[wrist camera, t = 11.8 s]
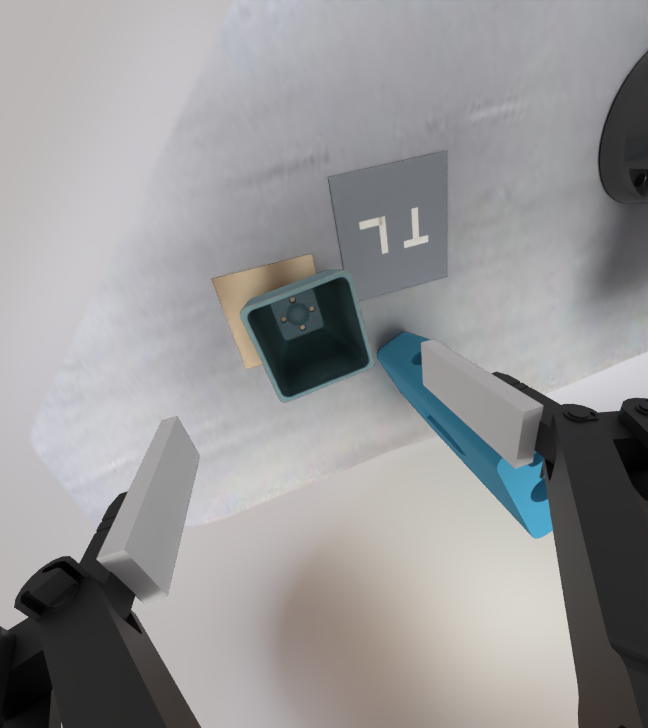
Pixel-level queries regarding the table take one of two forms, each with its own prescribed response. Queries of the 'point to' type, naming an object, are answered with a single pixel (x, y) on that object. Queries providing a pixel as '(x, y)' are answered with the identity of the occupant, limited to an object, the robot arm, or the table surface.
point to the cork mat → (254, 283)
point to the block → (469, 440)
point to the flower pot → (309, 333)
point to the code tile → (392, 223)
